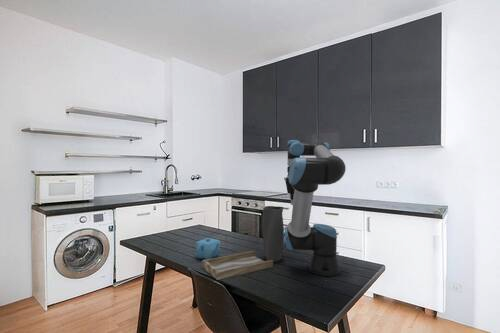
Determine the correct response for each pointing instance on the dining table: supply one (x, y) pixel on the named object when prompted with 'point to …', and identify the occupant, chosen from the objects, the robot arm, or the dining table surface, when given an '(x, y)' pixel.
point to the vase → (273, 232)
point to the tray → (235, 265)
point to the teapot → (207, 248)
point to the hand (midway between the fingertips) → (293, 204)
